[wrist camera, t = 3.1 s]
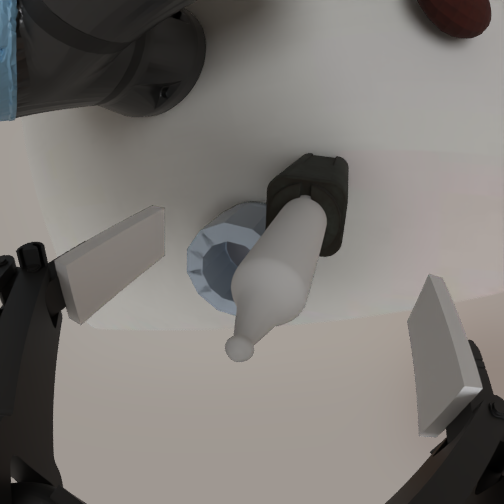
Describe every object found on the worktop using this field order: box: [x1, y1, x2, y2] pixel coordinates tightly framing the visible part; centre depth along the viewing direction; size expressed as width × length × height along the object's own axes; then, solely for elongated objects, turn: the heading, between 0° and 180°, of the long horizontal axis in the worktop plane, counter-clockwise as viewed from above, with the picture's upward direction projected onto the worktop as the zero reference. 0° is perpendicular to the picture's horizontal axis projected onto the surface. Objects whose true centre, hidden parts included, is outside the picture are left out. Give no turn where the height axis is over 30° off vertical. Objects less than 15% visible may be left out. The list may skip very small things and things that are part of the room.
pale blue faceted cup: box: [187, 202, 266, 316], centre depth 32 cm, size 10×10×8 cm
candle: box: [225, 153, 348, 362], centre depth 19 cm, size 5×5×25 cm
